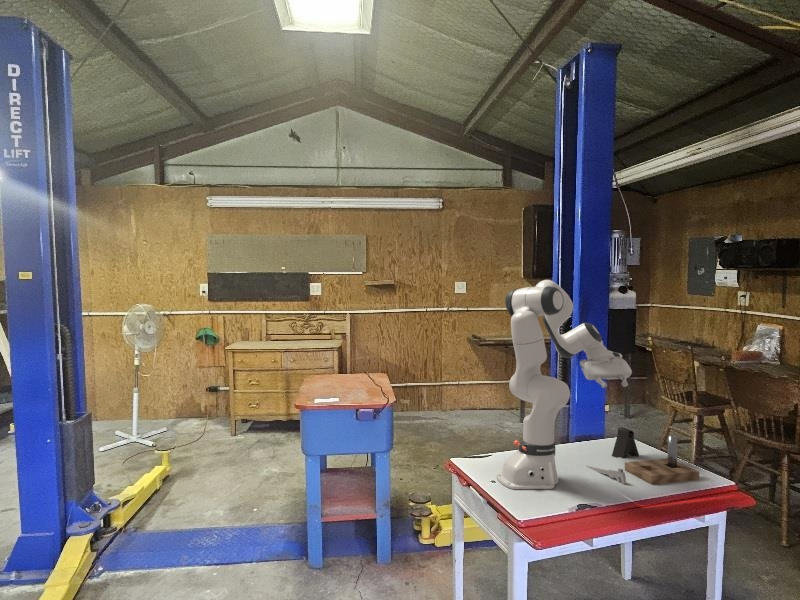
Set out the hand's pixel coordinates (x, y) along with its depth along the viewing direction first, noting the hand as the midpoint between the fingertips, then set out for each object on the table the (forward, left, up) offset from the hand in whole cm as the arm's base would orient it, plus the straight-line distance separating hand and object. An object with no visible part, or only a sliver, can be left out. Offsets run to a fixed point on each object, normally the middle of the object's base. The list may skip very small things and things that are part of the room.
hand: (615, 386), depth 190 cm
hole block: (+7, -16, -31) cm, 36 cm away
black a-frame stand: (+9, +6, -32) cm, 33 cm away
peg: (+12, -16, -30) cm, 37 cm away
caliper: (-13, -11, -32) cm, 36 cm away
